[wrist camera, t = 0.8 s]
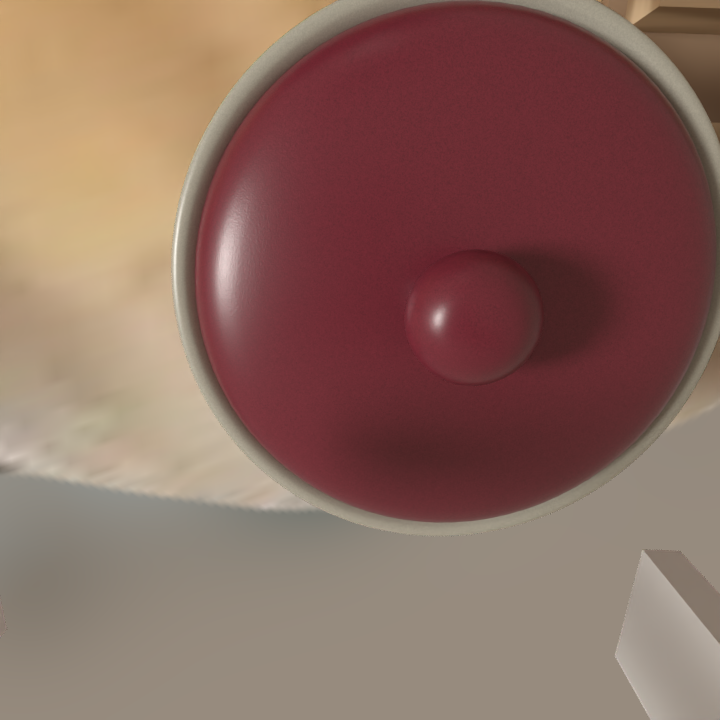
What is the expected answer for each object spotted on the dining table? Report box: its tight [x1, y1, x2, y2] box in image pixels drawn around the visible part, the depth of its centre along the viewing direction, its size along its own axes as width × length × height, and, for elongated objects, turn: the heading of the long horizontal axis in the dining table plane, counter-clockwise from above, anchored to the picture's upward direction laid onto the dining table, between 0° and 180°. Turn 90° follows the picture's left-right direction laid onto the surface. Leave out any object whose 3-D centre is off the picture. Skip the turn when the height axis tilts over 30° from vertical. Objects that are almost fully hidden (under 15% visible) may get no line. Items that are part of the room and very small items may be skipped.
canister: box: [171, 0, 720, 536], centre depth 22 cm, size 18×18×21 cm
